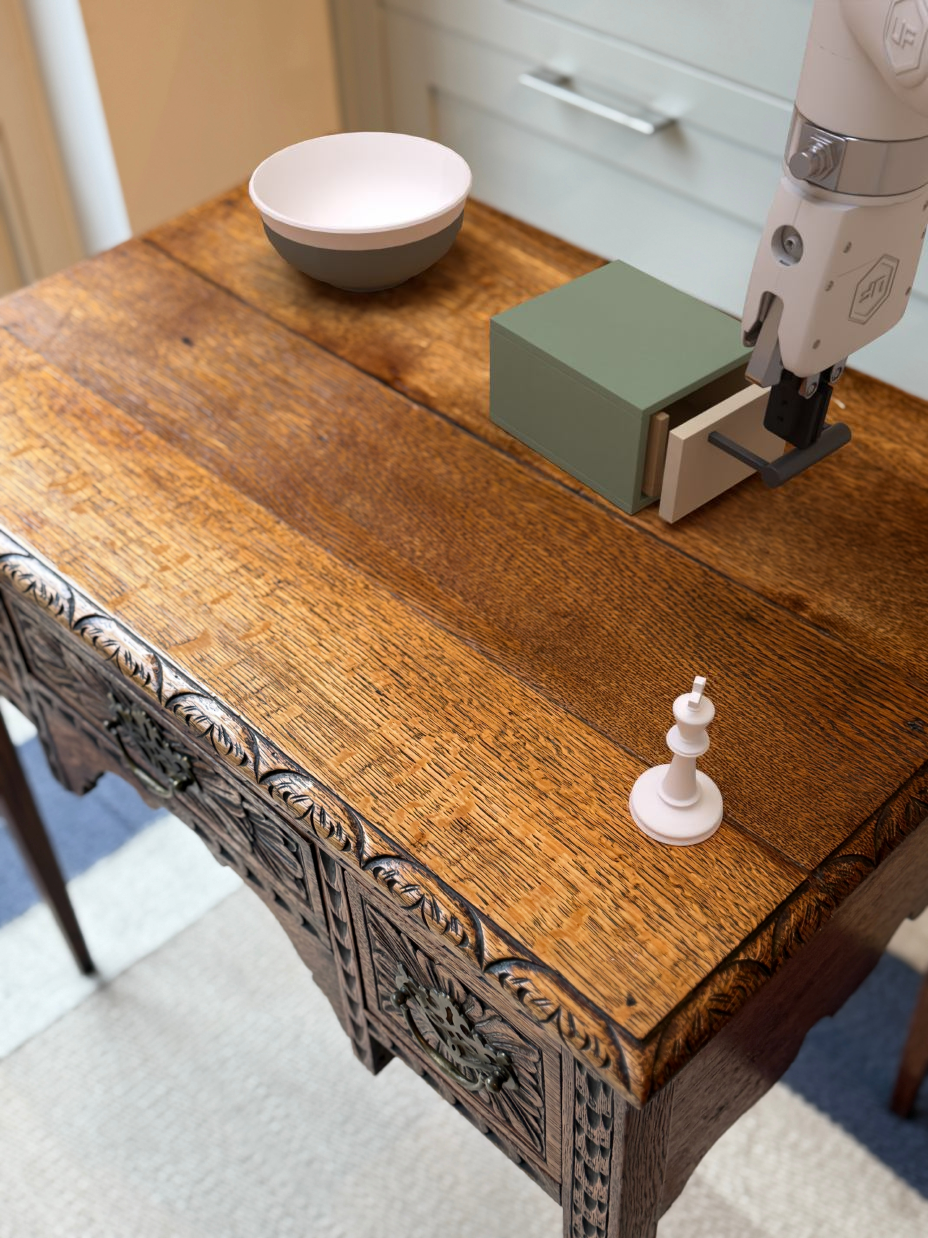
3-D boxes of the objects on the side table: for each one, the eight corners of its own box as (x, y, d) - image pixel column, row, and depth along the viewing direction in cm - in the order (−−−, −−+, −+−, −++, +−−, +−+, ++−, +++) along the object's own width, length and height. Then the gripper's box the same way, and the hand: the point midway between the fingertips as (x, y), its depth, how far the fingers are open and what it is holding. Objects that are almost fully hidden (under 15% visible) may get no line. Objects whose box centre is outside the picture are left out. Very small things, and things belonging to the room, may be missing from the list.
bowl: (223, 257, 106) (208, 166, 100) (398, 199, 113) (393, 113, 107) (331, 347, 95) (321, 252, 89) (516, 277, 102) (518, 186, 97)
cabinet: (753, 442, 85) (773, 338, 79) (630, 516, 80) (642, 409, 73) (609, 359, 93) (618, 258, 87) (489, 420, 88) (489, 317, 81)
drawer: (853, 495, 79) (876, 411, 75) (741, 570, 74) (758, 485, 69) (643, 373, 90) (652, 293, 85) (532, 432, 85) (535, 349, 80)
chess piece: (617, 829, 62) (634, 702, 55) (643, 759, 65) (662, 632, 58) (710, 858, 60) (739, 733, 53) (732, 786, 63) (762, 658, 56)
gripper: (830, 219, 55) (759, 516, 68) (1009, 127, 61) (912, 414, 75) (708, 163, 59) (663, 454, 72) (888, 82, 65) (817, 362, 79)
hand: (790, 433), depth 73 cm, fingers closed
